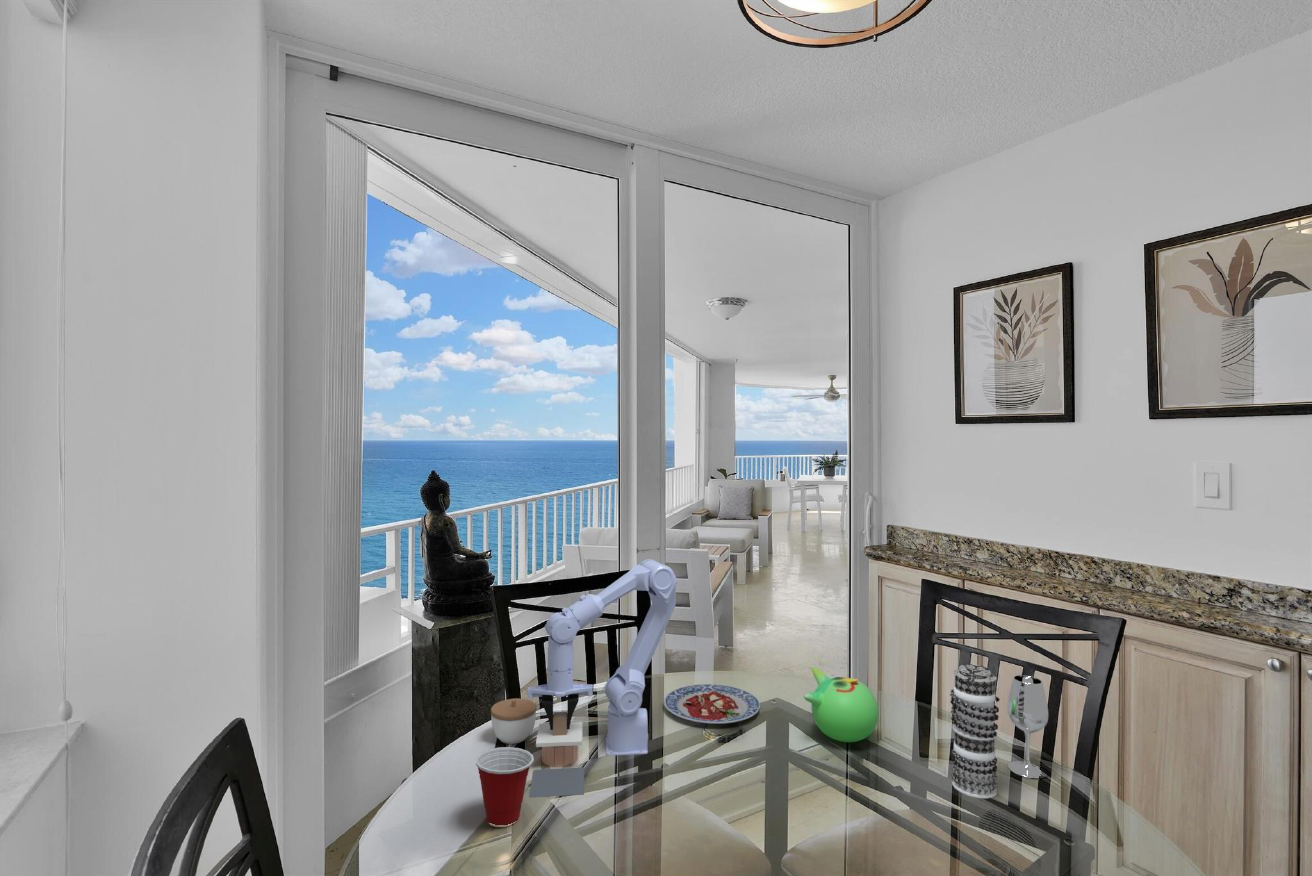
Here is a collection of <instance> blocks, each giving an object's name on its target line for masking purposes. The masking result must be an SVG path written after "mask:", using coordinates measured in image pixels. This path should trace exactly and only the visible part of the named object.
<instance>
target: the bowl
mask: <svg viewBox="0 0 1312 876" xmlns="http://www.w3.org/2000/svg"><path fill="white" fill-rule="evenodd" d="M578 752H579V745H573V746H550V747H541V762H543V764H545V765H546V766H550V767H553V768H554V767H557V768H559V767H566V766H570V765H572V764H574V763H575V762H576V761H577V760H578V759H579V755H578V754H579V753H578Z"/></svg>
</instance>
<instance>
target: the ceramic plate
mask: <svg viewBox="0 0 1312 876" xmlns="http://www.w3.org/2000/svg"><path fill="white" fill-rule="evenodd" d="M663 705H664V707H665V709H666V710H667V711H668V712H670V713H671V714H672V715H674V716H676V717H679V718H681V719H682V720H687V721H691V722H696V723H700V724H701V723H702V724H710V725H712V724H713V725H714V724H715V725H716V724H720V725H721V724H722V725H723V724H731V723H736V722H742V721H745V720H747V719H750V718H752V717H754V716H755V715H756V714H757V713H758V712H760V711H759V710H760V707H761V703H760V701H759V699H758V698H757V697H756V696H754V695H753V694H752V693H750V692H749V691H746V690H743V689H741V688H739V687H734V686H731V685H723V684H712V683H709V684H708V683H703V684H701V683H699V684H692V685H691V684H690V685H686V686H682V687H679V688H676V689H674V690H671V691H670V692H669V693H667V694H666V695H665V697H664V699H663Z"/></svg>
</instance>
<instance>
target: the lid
mask: <svg viewBox="0 0 1312 876" xmlns="http://www.w3.org/2000/svg"><path fill="white" fill-rule="evenodd" d="M573 745H578V746H583V722H580V721H579V722H571V723H570V729H567V711H555V712H554V711H553V730H550V724H549V723H539V724H538V729H537V736H536V742H535V748H542V747H550V746H573Z"/></svg>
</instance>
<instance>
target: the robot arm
mask: <svg viewBox="0 0 1312 876" xmlns="http://www.w3.org/2000/svg"><path fill="white" fill-rule="evenodd" d="M677 583H678V579H677V577H676V575H675V572H674V570H673V569H672V568H671V567H670V566H667V565H665V564H663V563H661V562H658V561H657V560H655V559H652V558H651V559H650V558H647V559H645V560H643V561H642V562H640V564H638V563H637V564H636V565H634V566H633V567H632V568H631V569H630V570H629V571H628V572H626V573H624V574H623V575H622V576H620V577H619V578H618V579H617V580H615V581H614V582H612V583H611V584H610V585H608V586H607V587H606V588H604V589H603V590H601V591H600V592H598V593H597V594H593V593H589V594H586V595H585V594H582V595H580V596H578V597H579V600H577V601H576V602H574V603H573V604H571V605H570V606H568V607H566V606H565V607H563V608H562V609H561V611H562V612H561V611H559V612H555V613H552V614H551V615H550V616H549V617H548V619H547V620H546V624H545V625H544V628H545V632H546V633H547V634H548V641H547V642H548V646H547V683H546V684H541V685H539V684H538V685H533V686H527V696H526V697H527V698H526V699H532V698H537V697H538V698H539V697H540V698H541V706H542V707H543V710H544V711H545V714H546V717H547V719H548V724H550V730H553V715H554V697H555V698H561V697H563V698H564V697H567V711H566V712H567V729H570V723H572V718H573V715H574V712H575V710H576V708H577V705H578V703H579V700H580V699H579V698H580V696H587V697H593V692H594V691H593V689H594V687H593V686H594V685H593V684H589V683H587V684H586V683H576V682H575V683H574V639H575V638H576V635H577V633H578V632H579V631H581V630H583V628H585V627H586V626H588V625H589V624H591V623H593V622H595V620H597V619H599V618H600V617H602V616H603V615H604V614H603V613H604V610H605V608H606V607H607V606H609V605H611V604H612V603H614V602H615V601H617V600H619V599H621V598H623V597H624V596H626V595H628V594H629V593H631V592H633V591H643V592H644V591H647V592H648V595H649V598H650V600H651V605H650V607H649V608H648V610H647V613H646V616H645V618H644V621H642V624H641V626H640V629H639V631H638V633H637V635H636V636H635V637H636V638H635V639H634V642H633V644H632V646H631V648H630V650H629V653H628V654H627V657H626V659H625V662H624V663H623V664H622V665H621V666H619V667H618V668H617V669H616V671H615V672H614V674H613V675H612V676H611V677H610V678H608V681H606V684H605V686H604V692H605V696H606V697H607V699H609V703H608V706H607V738H605V754H606V756H627V755H628V756H629V755H630V756H631V755H647V754H648V753H649V750H648V742H649V733H648V731H649V729H648V728H649V727H648V726H649V725H648V710H647V708H643V707H641V706H642V703H643V693H644V690H645V687H646V683H645V682H646V681H645V674H646V672H647V670H648V667H649V666H650V663H651V661H652V659H653V657H654V655H655V652H656V650H657V648H658V646H659V644H660V641H661V639H662V637H663V634H664V632H665V630H666V628H667V626H668V623H669V622H670V619H671V616H672V615H673V613H674V610H675V608H676V604H677V599H676V598H677V595H676V592H677V591H676V590H677V589H676V586H677Z"/></svg>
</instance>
